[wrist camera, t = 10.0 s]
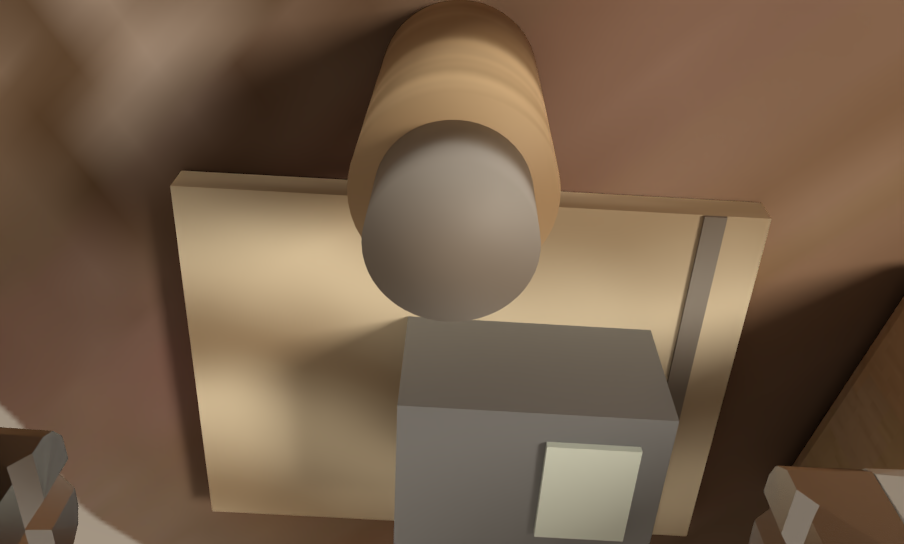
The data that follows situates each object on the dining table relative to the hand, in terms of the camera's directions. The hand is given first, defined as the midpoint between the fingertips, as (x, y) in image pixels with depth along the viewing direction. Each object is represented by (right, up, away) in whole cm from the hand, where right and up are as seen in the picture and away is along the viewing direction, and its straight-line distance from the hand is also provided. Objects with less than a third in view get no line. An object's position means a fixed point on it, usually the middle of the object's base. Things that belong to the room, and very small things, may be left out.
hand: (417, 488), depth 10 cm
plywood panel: (+1, 0, +17) cm, 17 cm away
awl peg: (+1, +7, +12) cm, 14 cm away
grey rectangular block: (+2, -1, +16) cm, 16 cm away
